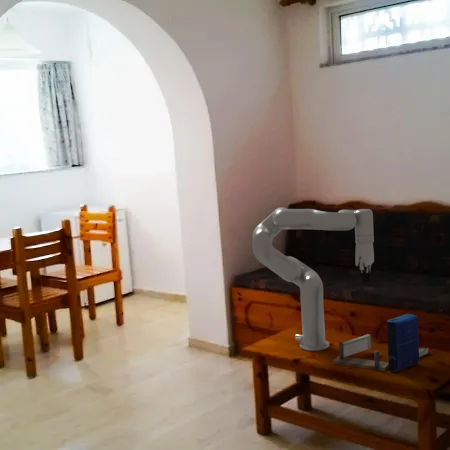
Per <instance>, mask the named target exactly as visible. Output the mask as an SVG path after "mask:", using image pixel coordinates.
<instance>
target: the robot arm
mask: <svg viewBox="0 0 450 450" xmlns="http://www.w3.org/2000/svg"><path fill="white" fill-rule="evenodd" d="M352 229H354V233H355V236H354V237H355V240H354V241H355V266H356V267H359V270H360V272H361V281H362V282H363V283H370V282H371V280H372V278H371V277H372V275H371V271H372V270H371V268H372V265H373V263H374V262H375V251H374V242H375V239H374V238H375V236H374V235H375V234H374V213H373V210H372V209H369V208H360V209H341V210H338V212H335V211H333V212H332V211H323V210H317V209H314V208H286V207H284V206H283V207H282V206H281V207H277V208H276V209H275V210H273V211H272V213H270V214H269V215H268V216H267V217H266V218H264V220H262V221H261V222H260V223H259V224H258V225H257V226H256V227H255V229H254V230H253V232H252V243H251V245H252V246H251V247H252V252H253V255H254V257H255V258H256V259H257V261H259V263H260V264H262V265H263V266H265V267H266V268H268V269H269V270H270V271H272V272H273V273H275V274H276V275H277V276H279V277H280V278H282V279H283V280H284V281H285V282H288V283H293V284H295V285H296V286H297V287H299V291H300V311H301V312H300V313H301V314H300V315H301V326H302V327H301V329H302V331H301V332H302V334H295V336H294V338H295V341H298V342H300V343H299V347H300V349H302V350H304V351H309V352H315V351H317V352H319V351H323V350H326V349H328V348H330V341H327V340H326V330H325V328H326V327H325V324H326V323H325V310H324V285H323V281H322V279H321V277H320V275H319V274H318V273H317V272H316V271H315V270H314V269H312V268H311V267H309V266H308V265H306V264H305V263H303V262H302V261H300V260H299V259H297V258H295V257H293V256H291V255H290V256H289V255H285V254H284V253H282V252H281V251H279V250H278V249H276V248H275V247H274V246H273V240H274V238H275V237H276V236H277V235H278V234H279V233H280V232H281V231H282V230H315V231H316V230H318V231H320V230H322V231H350V230H352Z"/></svg>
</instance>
